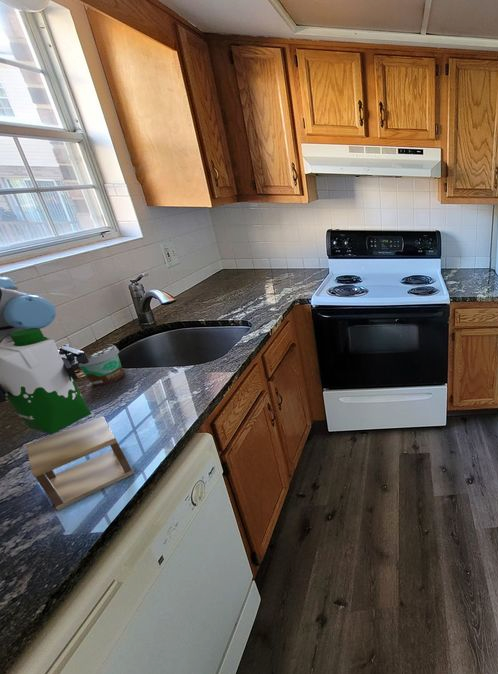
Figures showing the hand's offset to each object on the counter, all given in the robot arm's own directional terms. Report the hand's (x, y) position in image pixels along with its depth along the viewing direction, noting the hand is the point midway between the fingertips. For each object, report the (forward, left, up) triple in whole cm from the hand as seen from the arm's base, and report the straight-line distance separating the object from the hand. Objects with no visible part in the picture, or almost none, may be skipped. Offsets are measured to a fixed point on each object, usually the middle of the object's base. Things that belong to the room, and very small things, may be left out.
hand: (37, 384), depth 70 cm
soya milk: (-4, +1, -11) cm, 12 cm away
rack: (-1, 0, -25) cm, 25 cm away
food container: (-48, +27, -25) cm, 61 cm away
